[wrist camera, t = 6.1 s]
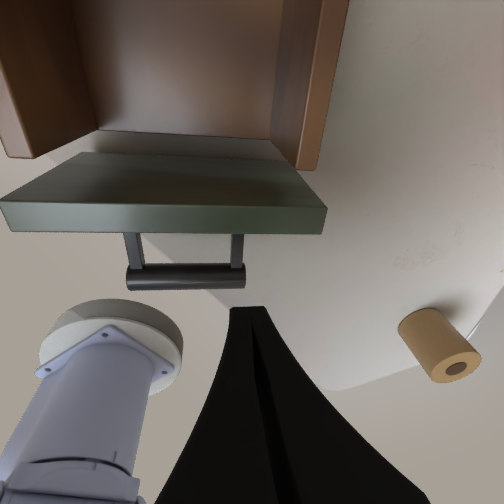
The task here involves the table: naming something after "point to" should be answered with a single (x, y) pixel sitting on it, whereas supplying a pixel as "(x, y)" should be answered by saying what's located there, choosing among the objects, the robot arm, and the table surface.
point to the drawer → (168, 119)
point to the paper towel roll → (438, 346)
